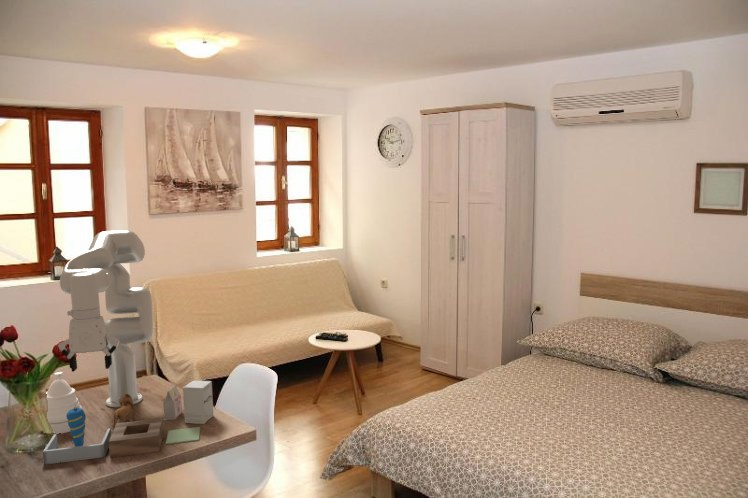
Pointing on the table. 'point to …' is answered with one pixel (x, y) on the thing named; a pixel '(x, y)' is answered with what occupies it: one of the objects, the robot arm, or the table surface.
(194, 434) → the mat
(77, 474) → the table surface
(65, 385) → the honey pot
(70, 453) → the grey arch frame
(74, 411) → the ornament
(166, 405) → the white printed carton
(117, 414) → the lion figurine
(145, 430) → the hole deck
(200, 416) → the supplement box
